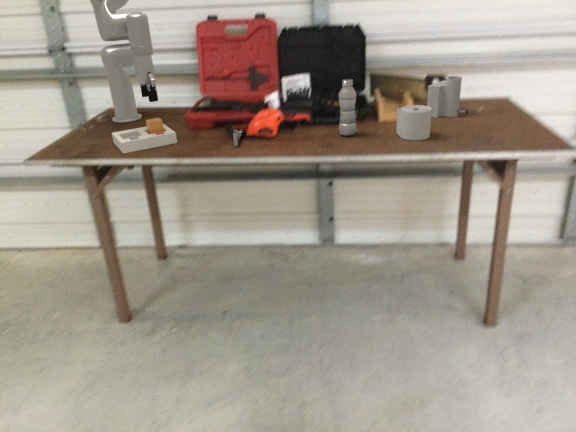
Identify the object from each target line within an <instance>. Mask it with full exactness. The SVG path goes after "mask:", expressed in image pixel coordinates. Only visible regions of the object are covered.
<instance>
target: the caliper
mask: <svg viewBox="0 0 576 432" xmlns="http://www.w3.org/2000/svg"><path fill="white" fill-rule="evenodd" d="M232 132H233V133H232V135H233V137H232V138H233V147H234V148H238V146H239V139H240V138H241V136H242V135H241V133H242V131H241V130H239V131H238V130H237V129H233V131H232Z"/></svg>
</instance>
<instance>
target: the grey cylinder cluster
mask: <svg viewBox="0 0 576 432" xmlns="http://www.w3.org/2000/svg"><path fill="white" fill-rule="evenodd" d="M462 79H463V78H462V76H460V75H450V76H449V75H448V76H446V79H445V80H441V81H437V82H434V83H433V84H430V85H427V100H426V101H427V102H426V106H429V107H431V108H432V112H431V118H437V119H438V118H439V117H446V118H456V117H459V114H466V115H467V114H468V113H469V111H468V110H465V109H464V110H463V109H461V107H460V102H461V101H460V100H461V91H462V90H461V89H462Z"/></svg>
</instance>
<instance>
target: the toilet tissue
mask: <svg viewBox="0 0 576 432" xmlns="http://www.w3.org/2000/svg"><path fill="white" fill-rule="evenodd" d="M431 112H432V108H431V107H429V106H427V105H424V104H420V105H419V104H412V105H411V104H410V105H404V106H401V107H400V108H399V107H398V106H396V132H395V133H396V134H397V135H398V136H399V138H401V139H403V140H406V141H423V140H427V139H430V136H431V126H432V125H431V123H432V117H431Z"/></svg>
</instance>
